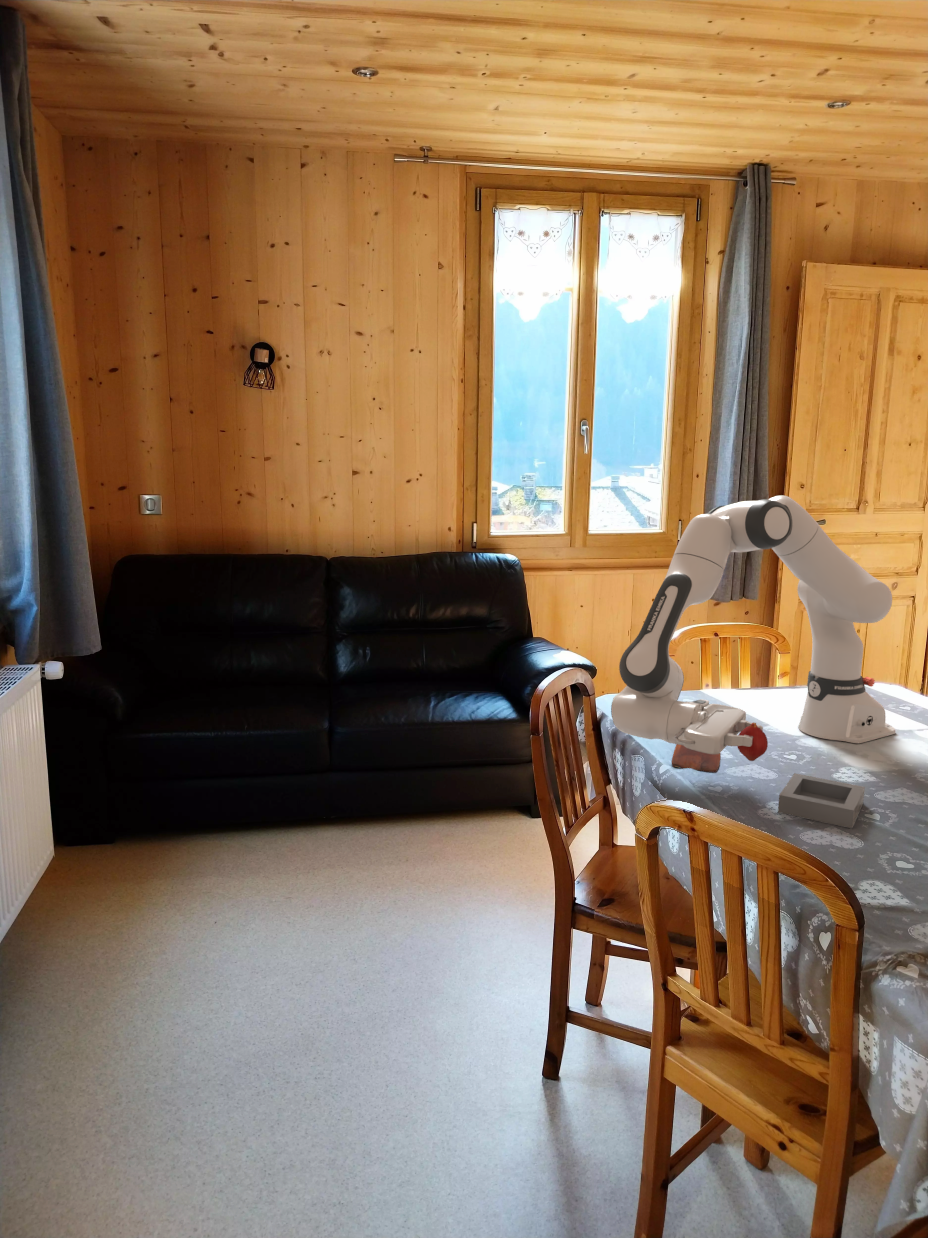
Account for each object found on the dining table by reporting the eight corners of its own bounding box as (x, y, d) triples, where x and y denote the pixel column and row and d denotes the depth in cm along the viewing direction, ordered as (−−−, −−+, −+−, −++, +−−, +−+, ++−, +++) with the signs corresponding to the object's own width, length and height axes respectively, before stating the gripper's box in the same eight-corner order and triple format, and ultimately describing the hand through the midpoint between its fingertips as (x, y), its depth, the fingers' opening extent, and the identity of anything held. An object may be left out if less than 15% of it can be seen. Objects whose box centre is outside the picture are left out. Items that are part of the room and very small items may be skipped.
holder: (777, 812, 166) (779, 795, 165) (793, 789, 177) (794, 773, 176) (851, 828, 159) (853, 810, 159) (863, 804, 170) (864, 787, 169)
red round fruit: (731, 755, 177) (733, 717, 175) (758, 754, 177) (761, 716, 176) (742, 766, 171) (745, 727, 169) (771, 765, 172) (774, 726, 170)
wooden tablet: (718, 776, 186) (718, 768, 185) (669, 770, 189) (670, 762, 188) (723, 736, 210) (723, 729, 210) (680, 731, 213) (680, 724, 213)
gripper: (671, 723, 170) (744, 736, 163) (703, 697, 187) (770, 707, 180) (670, 754, 172) (742, 768, 165) (702, 725, 189) (768, 736, 182)
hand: (757, 736), depth 173 cm, fingers closed on red round fruit, 6 cm apart
